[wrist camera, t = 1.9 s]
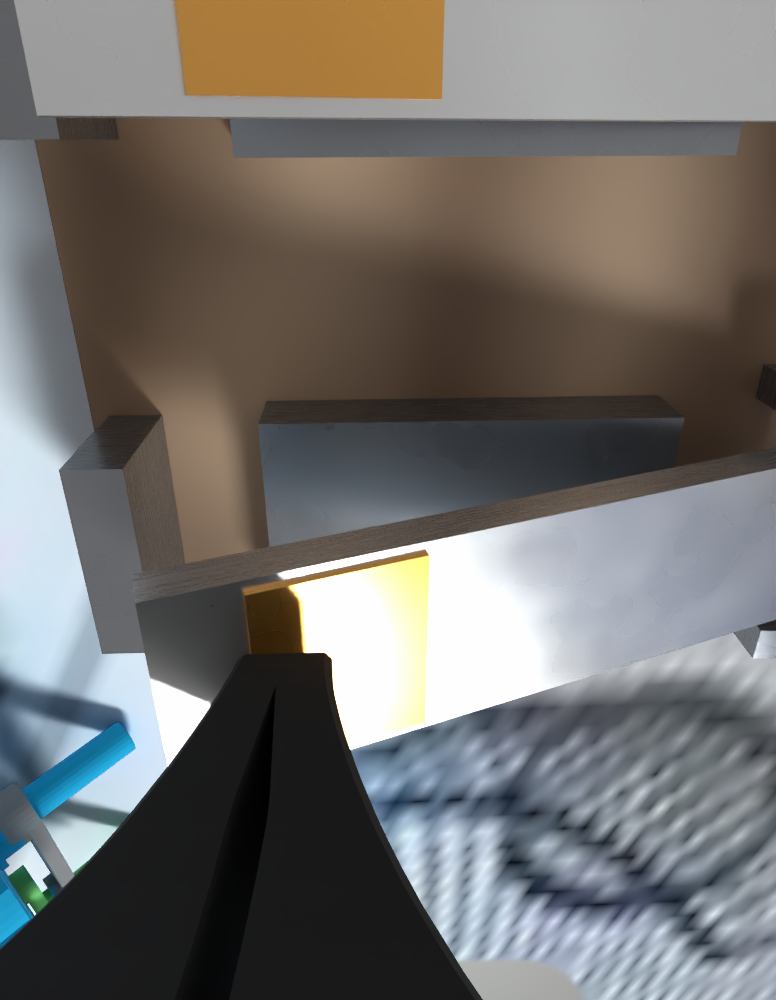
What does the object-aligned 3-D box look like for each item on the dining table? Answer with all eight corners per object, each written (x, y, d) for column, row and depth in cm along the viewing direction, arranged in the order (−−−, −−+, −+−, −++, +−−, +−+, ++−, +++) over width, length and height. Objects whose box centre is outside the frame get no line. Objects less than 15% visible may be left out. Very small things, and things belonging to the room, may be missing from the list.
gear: (-222, 657, 19) (-92, 922, 13) (1, 548, 22) (182, 719, 16) (-52, 873, 25) (87, 1115, 19) (101, 762, 29) (257, 939, 23)
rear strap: (826, 434, 15) (870, 451, 15) (781, 588, 17) (817, 610, 16) (130, 571, 11) (135, 607, 10) (168, 763, 12) (176, 807, 12)
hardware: (991, -235, 12) (1180, -346, 9) (758, 596, 19) (823, 671, 16) (-19, -245, 11) (-139, -367, 8) (146, 610, 19) (110, 689, 16)
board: (991, -181, 13) (1063, -218, 12) (778, 559, 20) (808, 589, 19) (2, -189, 13) (-41, -228, 11) (145, 572, 20) (130, 604, 18)
